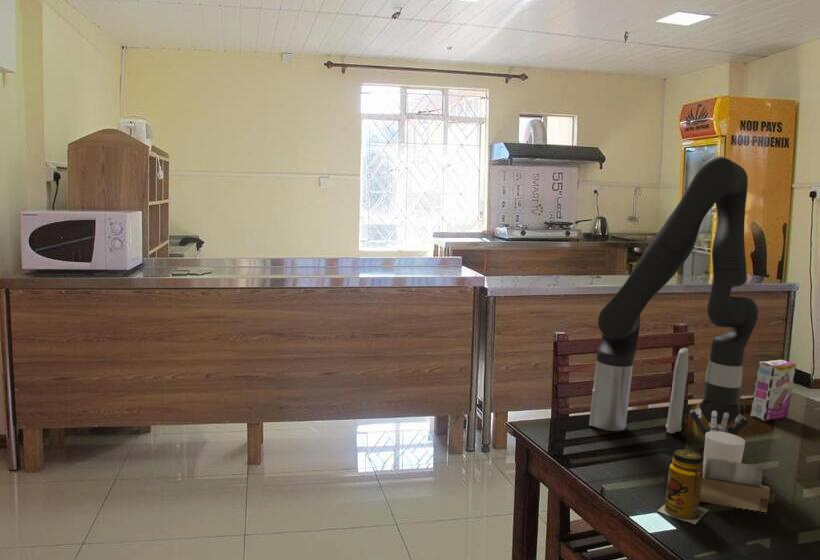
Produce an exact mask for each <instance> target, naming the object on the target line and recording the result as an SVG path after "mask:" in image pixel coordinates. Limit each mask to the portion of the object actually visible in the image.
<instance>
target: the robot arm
mask: <svg viewBox="0 0 820 560" xmlns="http://www.w3.org/2000/svg"><path fill="white" fill-rule="evenodd" d="M748 182H749V178H748V174H747V171H746V170H745V168H743V167H742V166H741V165H739V164H738V163H736V162H734V161H732V160H731V159H729V158H727V157H724V156H714V157H712V158H710V159H708V160H706V161H705V162H704V163H703V164H702V165H701V166H700V167H699V169H698V170H697V172H696V173H695V174H694V177H693V178H692V179H691V182H690V184H689V185H688V187H687V188H686V190H685V191H684V194H683V196H682V197H681V199H680V201H679V202H678V204H677V206H676V207H675V208H674V210H673V211H672V213H670V215H669V217H668V218H667V219H666V221H665V223H663V225H662V227H661V228H660V230H659V231H658V232H657V233H656V234H655V236H654V238H653V239H652V240H651V241H650V242H649V244H648V246H647V247H646V248H645V250H644V252H643V253H642V254H641V257H640V258H639V259H638V261H637V262H636V265H635V266H634V267H633V269H632V271H631V272H630V274H629V276H628V277H627V278H626V279H627V280H626V281H625V282H624V284H622V286H621V287H620V288H619V290H618V291H617V292H616V293H615V295H613V297H612V298H611V299H610V300H609V301H608V302H607V304H605V305H604V307H603V308H602V309H601V310H600V312H599V314H598V318H597V325H598V328H599V330H600V332H601V335H602V336H601V340H600V344H599V346H598V349H597V353H596V357H595V358H596V361H595V367H594V368H595V369H594V379H593V387H592V395H591V396H592V398H591V405H590V413H589V421H588V422H589V423H588V426H590V427H595V428H597V429H599V430H603V431H611V432H621V431H624V430H625V429H626V426H627V418H628V410H629V409H628V408H629V400H630V392H631V384H632V375H633V368H634V367H633V366H634V360H635V356H636V352H637V347H638V343H639V336H640V326H641V314H642V312H643V311H644V309H645V308H646V306H647V305H648V304H649V302H650V301H651V300H652V298H654V296H655V295H656V294H657V293H658V292H659V291H660V290H662V289H663V287H665V286H666V284H667V283H668V282H669V281H670V280H671V279H672V278H673V277H674V276H675V275H676V274H677V273H678V271H679V270H680V269H681V267H682V266H683V264H684V263H685V262H686V261H687V259H688V258H689V256H690V255H691V253H692V252H693V250H694V247H695V245H696V242H697V239H698V235H699V233H700V232H699V230H700V228H701V225H702V223H703V221H704V218H705V216H707V214H708V212H709V211H710V210H711V208H712V207H713V206H714V204H715V207H716V212H717V213H716V214H717V224H716V230H715V234H714V237H713V243H712V252H711V256H712V257H711V261H712V274H713V278H712V284H711V290H710V295H709V299H708V303H707V311H706V313H707V316H708V319H709V320H710V323H712V325H713V326H716V327H719V328H729V330H728V331H727V333H725V334H721V335H717V336H715V337H714V338H713V339H712V341H711V345H710V352H709V360H708V364H707V367H706V373H705V377H704V378H705V380H704V388H703V389H704V390H703V394H702V395H703V396H702V400H701V402H700V404H699V407H697V408H695V409H693V408H691V409H690V410H689V414H690V416H691V418H692V419H693V421H694V423H695V425H696V426H697V428H699V431H701V434H703V435H706V433H707V432H710V431H720V432H726V433H730V434H734V435H736V434H737V433H739V432H740V431H741V430H743V429H744V428H745V427H746V426H747V425H748V424H749V421H748V419H747V418H746V417H745V416H743V415H742V414H741V410H740V408H739V401H740V394H741V388H742V379H743V364H744V358H745V349H746V347H747V344H748V343H749V340H750V338H751V335H752V333H753V331H754V329H755V327H756V324H757V322H758V318H759V308H758V305H757V303H756V302H755V301H754V300H753V298H750V297H747V296H731V291H732V289H733V288H735V287H741V286H743V285H745V284H746V283H747V279H748V272H747V262H746V261H747V260H746V257H747V256H746V249H745V248H746V247H745V246H746V245H745V219H746V217H745V216H746V204H747V203H746V202H747V195H748V187H749V185H748ZM702 414H703V417H705V419H706V421H707V422H708V427H706V426H705V424H704V423H703V420H702V419H701V418H702ZM733 421H735V422H734V423H733V424H732V425H731V426H729V427H728V428H727V426H728V425H729V424H731V423H732V422H733Z"/></svg>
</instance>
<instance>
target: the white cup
mask: <svg viewBox="0 0 820 560" xmlns="http://www.w3.org/2000/svg"><path fill="white" fill-rule="evenodd" d="M745 445H746V440H745V439H744V438H743V437H741V436H739V435H736V434H735V435H734V434H730V433H726V432H720V431H717V430H716V431H710V432H707V433H706V435H705V436H704V446H703V447H704V449H703V460H702V467H703V468H702V471H703V475H704V464H705V459H706V458H713V459H719V460H725V461H731V462H737V463H742V460H743V456H744V450H745Z"/></svg>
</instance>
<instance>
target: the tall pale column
mask: <svg viewBox="0 0 820 560" xmlns="http://www.w3.org/2000/svg"><path fill="white" fill-rule="evenodd" d="M688 371H689V348H687V347H683V348H680V349H679V351H678V353H677V356H676V360H675V364H674V369H673V378H672V386H671V394H670V400H669V407H668V412H667V413H668V414H667V422H666V424H665V427H666V428H667V429H666V428H665V429H666V433H667V432H668V433H667V434H669V433H671V434H670V435H673V434H672V433H674V434H676V433H678V432H681V430H682V429H683V427H682V418H683V411H684V401H685V392H686V388H687V387H686V386H687V379H688V373H689V372H688ZM682 431H683V430H682ZM675 432H676V433H675Z"/></svg>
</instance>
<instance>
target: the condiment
mask: <svg viewBox="0 0 820 560" xmlns="http://www.w3.org/2000/svg"><path fill="white" fill-rule="evenodd" d="M671 460H672V462H671V463H670V465H669V467H668V468H669V469H668V477H667V484H666V485H667V486H666V493H665V494H666V495H665V499H664V500H665V501H664V504H663V505H662V506H661V507H659V508H658V509H657V510H656V512H659V513H661V514H664V515H666V516H669V517H671V518H674V519H678V520H680V521H683V522H688V523H690V524H692V525H696V524H697V523H698V522H699V521H700V520H701V519H702V518H703V517H704V516H705V515H706V514H707V512H708V511H709V509H708V508H705V507H701V506H700V501H699V499H700V491H701V484H702V477H703V468H702V467H703V461H704V458H703V456H702V455H701V454H699V453H697V452H695V451H692V450H688V449H687V450H686V449H677V450H675V451H673V454H672V459H671Z"/></svg>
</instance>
